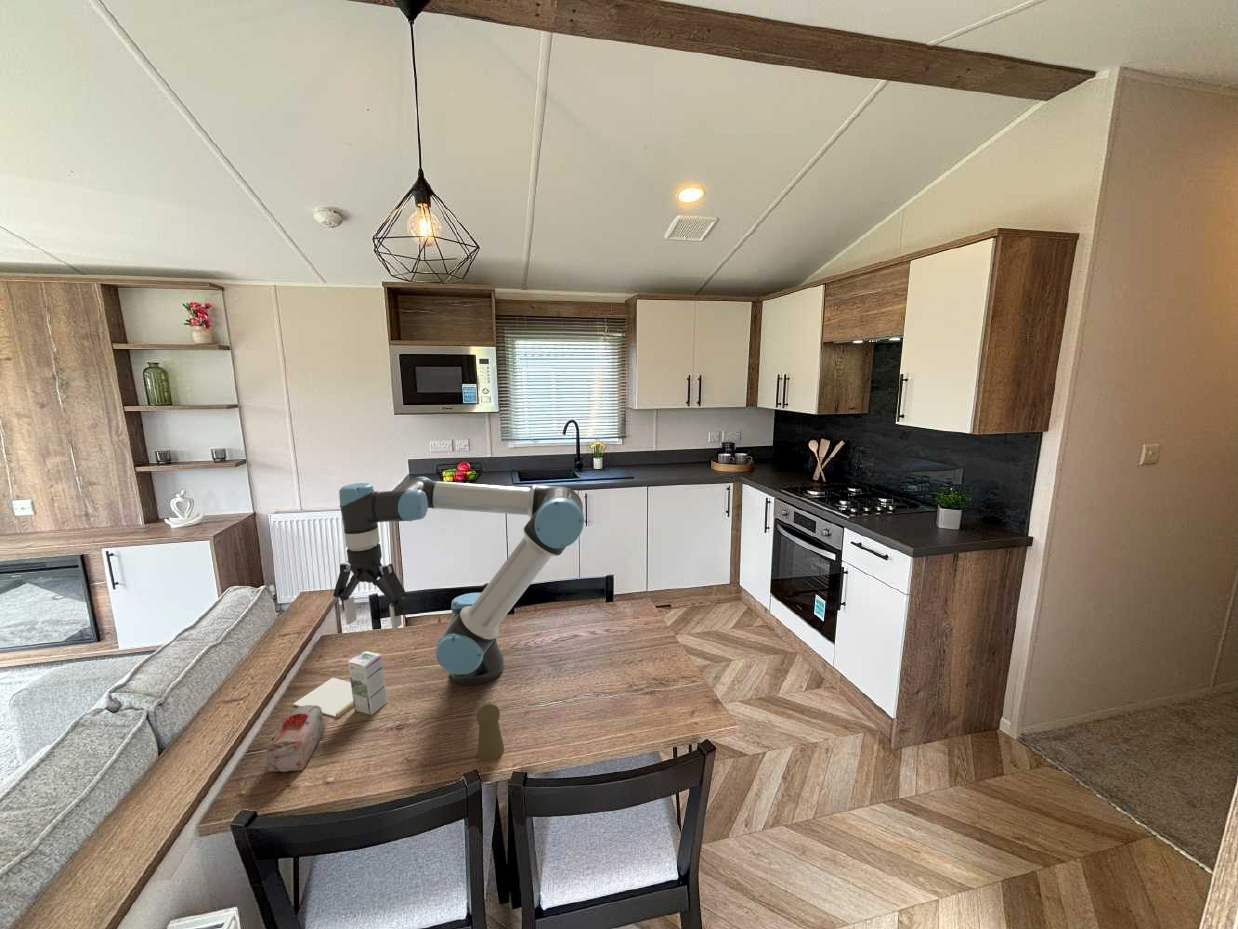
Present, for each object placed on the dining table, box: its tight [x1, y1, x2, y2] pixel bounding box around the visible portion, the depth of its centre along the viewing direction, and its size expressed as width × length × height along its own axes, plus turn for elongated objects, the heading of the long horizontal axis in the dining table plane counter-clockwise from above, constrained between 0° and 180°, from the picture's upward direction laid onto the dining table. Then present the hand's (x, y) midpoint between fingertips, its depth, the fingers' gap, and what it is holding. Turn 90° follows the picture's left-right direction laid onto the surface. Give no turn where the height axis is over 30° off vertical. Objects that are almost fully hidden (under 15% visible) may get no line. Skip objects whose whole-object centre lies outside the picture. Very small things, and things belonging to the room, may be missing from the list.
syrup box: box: [347, 650, 388, 716], centre depth 129 cm, size 6×6×14 cm
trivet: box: [292, 677, 354, 719], centre depth 134 cm, size 16×12×1 cm
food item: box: [265, 705, 326, 773], centre depth 113 cm, size 14×8×10 cm, turn 12°
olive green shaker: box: [476, 703, 505, 762], centre depth 113 cm, size 6×6×11 cm
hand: (374, 624), depth 126 cm, fingers open, 13 cm apart
